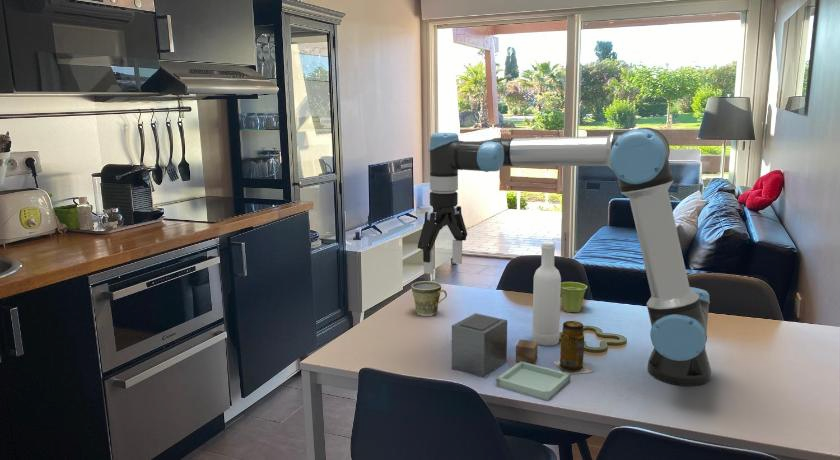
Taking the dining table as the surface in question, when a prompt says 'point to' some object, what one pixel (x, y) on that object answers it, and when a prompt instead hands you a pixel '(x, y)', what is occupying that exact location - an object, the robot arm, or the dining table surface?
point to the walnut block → (527, 351)
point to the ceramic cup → (427, 297)
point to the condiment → (572, 349)
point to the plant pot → (572, 296)
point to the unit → (479, 344)
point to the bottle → (546, 299)
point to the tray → (533, 380)
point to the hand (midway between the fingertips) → (443, 268)
